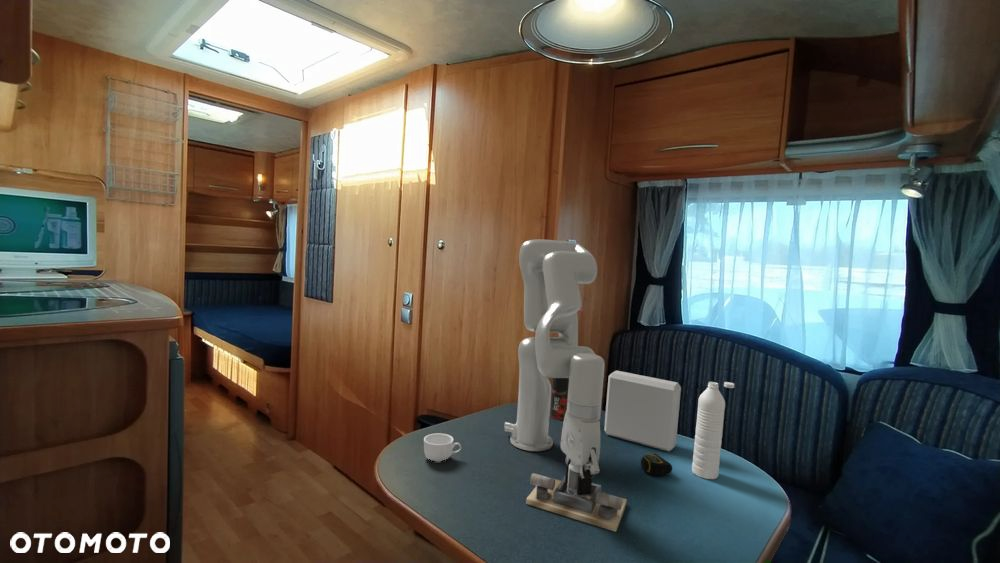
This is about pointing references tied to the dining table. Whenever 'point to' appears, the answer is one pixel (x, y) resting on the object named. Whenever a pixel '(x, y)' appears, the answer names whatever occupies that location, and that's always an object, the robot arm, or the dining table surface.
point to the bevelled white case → (642, 409)
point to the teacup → (439, 446)
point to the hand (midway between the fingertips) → (577, 486)
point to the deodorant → (559, 398)
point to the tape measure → (655, 464)
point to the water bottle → (709, 432)
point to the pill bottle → (574, 479)
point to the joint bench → (577, 502)
